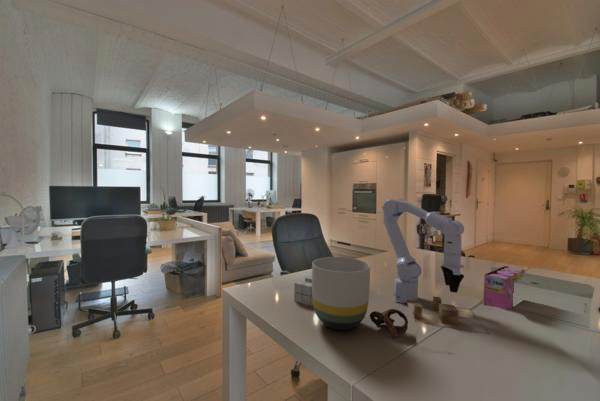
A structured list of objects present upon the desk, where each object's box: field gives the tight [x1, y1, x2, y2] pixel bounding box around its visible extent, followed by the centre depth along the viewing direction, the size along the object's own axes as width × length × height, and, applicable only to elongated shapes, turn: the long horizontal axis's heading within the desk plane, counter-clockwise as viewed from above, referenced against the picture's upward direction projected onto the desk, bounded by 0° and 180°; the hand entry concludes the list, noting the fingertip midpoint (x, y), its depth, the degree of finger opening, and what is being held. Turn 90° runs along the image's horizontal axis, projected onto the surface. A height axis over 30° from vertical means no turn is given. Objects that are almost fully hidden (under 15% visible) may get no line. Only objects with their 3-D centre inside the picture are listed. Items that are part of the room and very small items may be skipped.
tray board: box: [422, 302, 491, 335], centre depth 98 cm, size 17×20×2 cm
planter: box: [311, 256, 371, 331], centre depth 93 cm, size 20×20×21 cm
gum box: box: [482, 266, 526, 310], centre depth 115 cm, size 24×8×14 cm, turn 126°
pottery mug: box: [369, 308, 409, 339], centre depth 90 cm, size 12×10×8 cm
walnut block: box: [438, 303, 459, 327], centre depth 95 cm, size 5×5×5 cm
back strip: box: [431, 296, 478, 319], centre depth 103 cm, size 14×8×5 cm, turn 73°
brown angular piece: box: [412, 302, 459, 328], centre depth 96 cm, size 14×8×5 cm, turn 73°
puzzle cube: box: [293, 275, 314, 308], centre depth 115 cm, size 12×12×8 cm
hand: (451, 288), depth 103 cm, fingers open, 7 cm apart
